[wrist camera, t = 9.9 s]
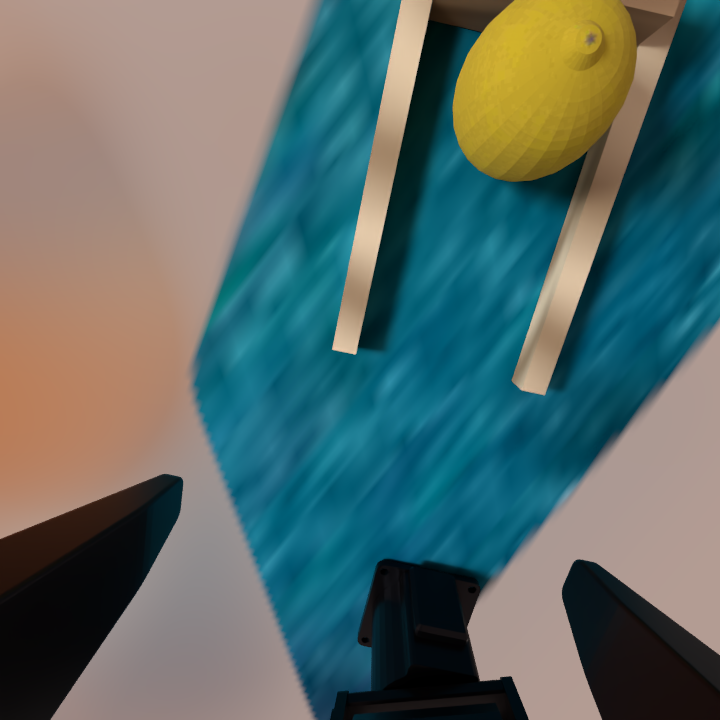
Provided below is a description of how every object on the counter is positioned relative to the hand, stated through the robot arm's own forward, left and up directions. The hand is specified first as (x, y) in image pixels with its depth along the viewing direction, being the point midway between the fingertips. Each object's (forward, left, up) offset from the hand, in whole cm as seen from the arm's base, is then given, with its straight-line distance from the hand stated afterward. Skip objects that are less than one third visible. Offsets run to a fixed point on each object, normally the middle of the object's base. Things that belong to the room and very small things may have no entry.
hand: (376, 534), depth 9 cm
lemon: (+12, -3, -13) cm, 18 cm away
